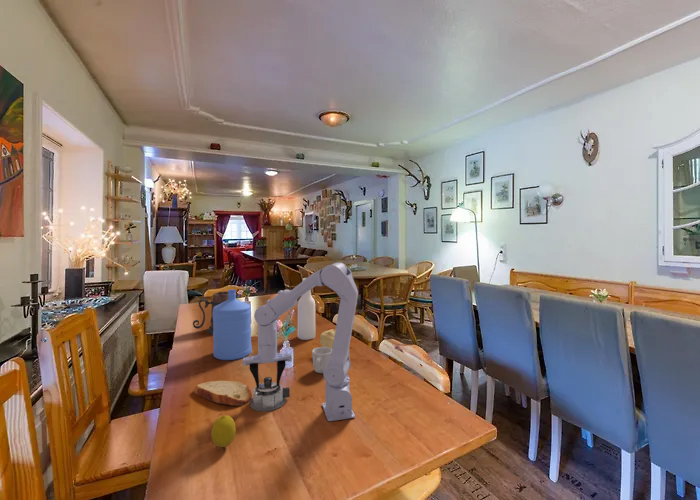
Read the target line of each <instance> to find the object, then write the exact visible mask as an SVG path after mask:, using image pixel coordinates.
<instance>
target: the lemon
mask: <svg viewBox="0 0 700 500" xmlns="http://www.w3.org/2000/svg"><path fill="white" fill-rule="evenodd" d="M236 427H237V426H236V423H235V421H234V418H232V416H230V415H226V414H225V415H224V414H223V415H221V416H219V417H217V419H216V420H215V421H214V422H213V425H212V427H211V438H212V442H213V443H214V445H216V446H217V447H222V448H226V447H227V446H228V445H229V444H231V443H232V442H233V440H234V438H235V436H236Z"/></svg>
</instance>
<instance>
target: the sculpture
mask: <svg viewBox="0 0 700 500" xmlns="http://www.w3.org/2000/svg"><path fill="white" fill-rule="evenodd" d="M335 330H336V329H333V328H331V329H329V330H326V331H323V332H322V333H321V334H320V336H319V342H320V345H321V347H328V348H331V349H333V342H334V336H335Z"/></svg>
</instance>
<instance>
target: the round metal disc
mask: <svg viewBox="0 0 700 500" xmlns="http://www.w3.org/2000/svg"><path fill="white" fill-rule="evenodd" d="M286 403H287V398H283V402H282V403H280V404H279V405H277V406H276V407H273V408H266V409H263V408H262V409H261V408H258V407H256V406H254V405H253V397H252V399H251V401H250V402H249V408H251V410H253V411H256V412H262V413H264V412H272V411H276V410H278V409H280V408H282V407H283V406H284V405H285V404H286Z"/></svg>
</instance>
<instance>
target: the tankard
mask: <svg viewBox="0 0 700 500" xmlns="http://www.w3.org/2000/svg"><path fill="white" fill-rule="evenodd" d="M227 300H228V291H224V290H223V291H217V292H215V293H213V294H212V298H211V301H209V300H208V299H206V298H201V299H199V301H198V307H199V309H200V310H201V312H202V322H201V324H200V321H199V320H198V319H195V320H193V322H192V326H193V328H195V329H198V330H199V329H201V328H202V327H203V326H204V324H205V322H206V313H205V310H204V309H203V307H202V305H201V302H204V308H205V309H206V308H208V306H209V305H211V311H210V313H211V316H210V326H209V327H208V329H207V330H206V333H208V334H211V335H213V308H214V307H215V306H217V305H219V304H221V303H223V302H225V301H227ZM195 323H196V324H195Z"/></svg>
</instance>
